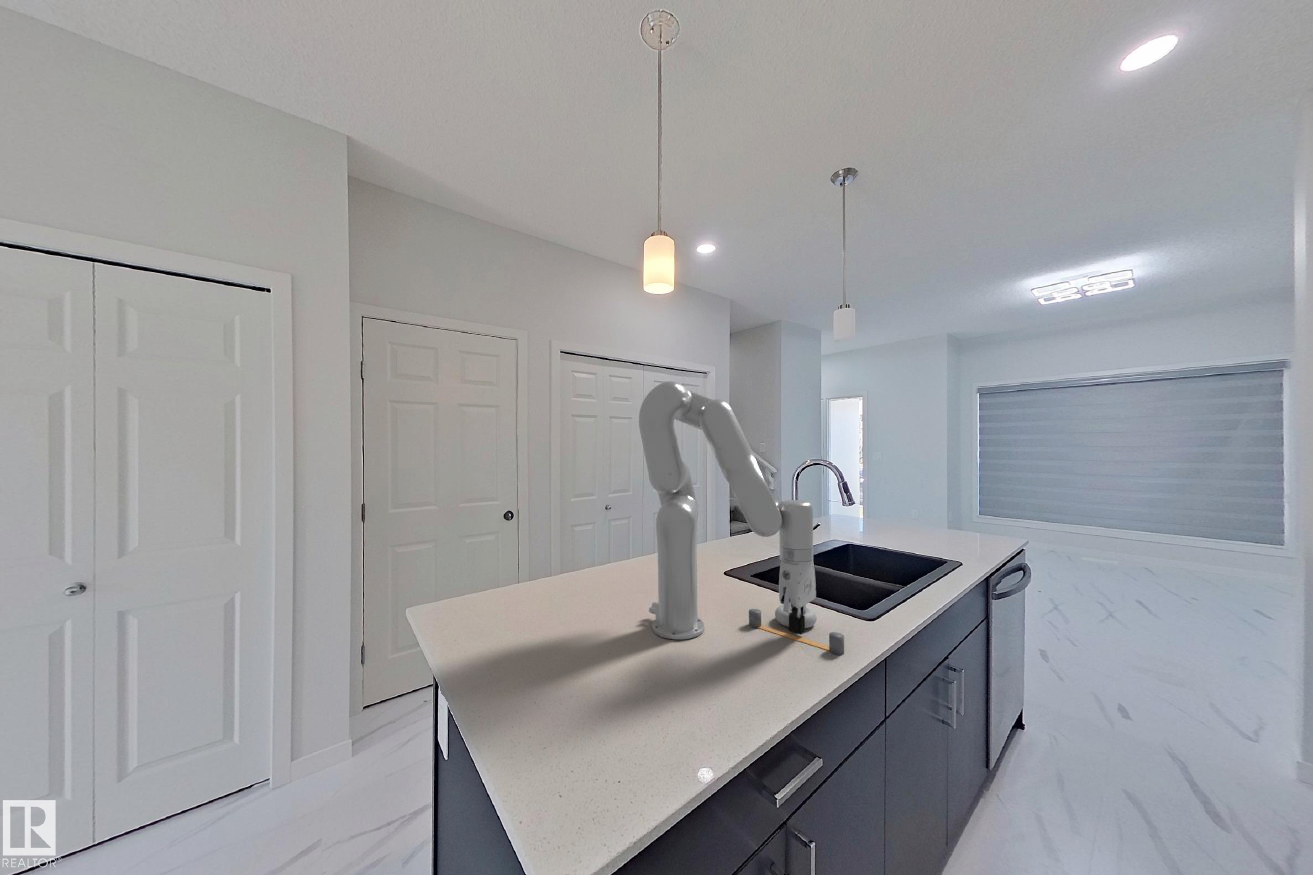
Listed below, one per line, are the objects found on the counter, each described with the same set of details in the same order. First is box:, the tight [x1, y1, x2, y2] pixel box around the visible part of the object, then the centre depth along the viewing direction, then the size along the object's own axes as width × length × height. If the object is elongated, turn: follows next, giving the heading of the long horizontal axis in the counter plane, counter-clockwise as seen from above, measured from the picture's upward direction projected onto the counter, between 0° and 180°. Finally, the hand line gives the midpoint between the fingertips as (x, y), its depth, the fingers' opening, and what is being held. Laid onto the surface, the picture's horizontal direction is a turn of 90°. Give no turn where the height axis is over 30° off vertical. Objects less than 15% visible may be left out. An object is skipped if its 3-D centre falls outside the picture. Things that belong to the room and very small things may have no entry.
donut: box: [774, 604, 817, 629], centre depth 111 cm, size 10×4×10 cm
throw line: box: [748, 608, 845, 656], centre depth 103 cm, size 23×3×4 cm, turn 47°
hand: (796, 631), depth 104 cm, fingers closed
